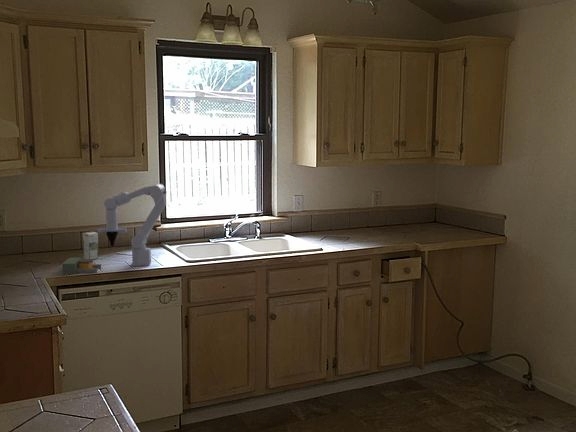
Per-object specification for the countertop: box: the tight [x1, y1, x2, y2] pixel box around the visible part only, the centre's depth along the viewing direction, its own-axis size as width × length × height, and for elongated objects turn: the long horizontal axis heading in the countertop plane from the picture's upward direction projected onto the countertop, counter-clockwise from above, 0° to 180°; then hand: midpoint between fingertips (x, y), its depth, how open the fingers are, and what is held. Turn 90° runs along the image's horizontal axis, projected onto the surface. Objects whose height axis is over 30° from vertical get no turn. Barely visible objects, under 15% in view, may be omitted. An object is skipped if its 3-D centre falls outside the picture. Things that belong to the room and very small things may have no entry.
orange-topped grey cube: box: [79, 258, 94, 268], centre depth 306 cm, size 5×5×5 cm
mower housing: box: [61, 257, 102, 275], centre depth 305 cm, size 16×14×5 cm
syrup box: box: [82, 231, 99, 261], centre depth 331 cm, size 6×6×14 cm
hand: (112, 246), depth 320 cm, fingers closed
